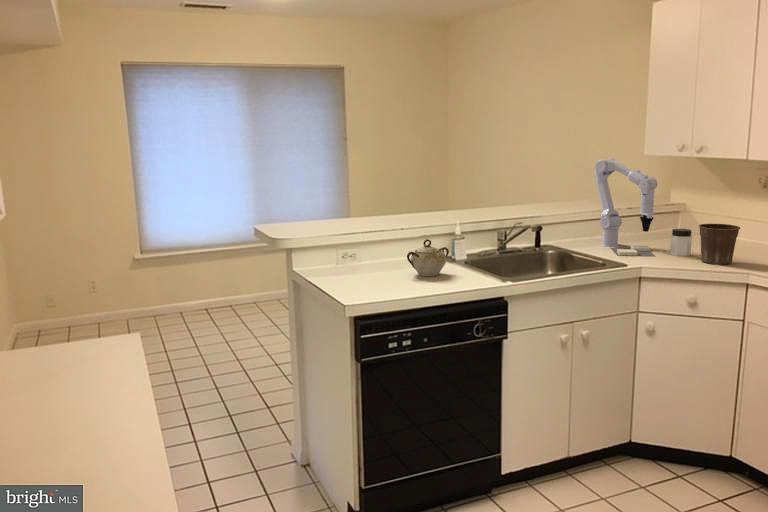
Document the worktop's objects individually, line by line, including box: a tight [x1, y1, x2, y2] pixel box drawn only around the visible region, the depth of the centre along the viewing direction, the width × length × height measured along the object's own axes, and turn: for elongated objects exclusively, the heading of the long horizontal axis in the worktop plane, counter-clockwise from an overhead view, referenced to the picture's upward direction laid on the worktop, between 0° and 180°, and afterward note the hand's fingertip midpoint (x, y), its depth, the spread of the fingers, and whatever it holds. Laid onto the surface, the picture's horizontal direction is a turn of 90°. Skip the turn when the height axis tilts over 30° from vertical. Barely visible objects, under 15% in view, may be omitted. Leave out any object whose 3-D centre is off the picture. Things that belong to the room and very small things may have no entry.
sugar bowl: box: [406, 238, 450, 277], centre depth 267 cm, size 20×15×15 cm
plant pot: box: [698, 223, 741, 265], centre depth 280 cm, size 16×16×16 cm
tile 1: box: [617, 249, 639, 257], centre depth 301 cm, size 2×8×7 cm
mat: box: [610, 247, 657, 258], centre depth 306 cm, size 22×17×1 cm
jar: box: [669, 228, 693, 257], centre depth 298 cm, size 9×8×12 cm
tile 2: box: [629, 245, 651, 252], centre depth 311 cm, size 7×8×2 cm
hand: (645, 231), depth 307 cm, fingers closed
